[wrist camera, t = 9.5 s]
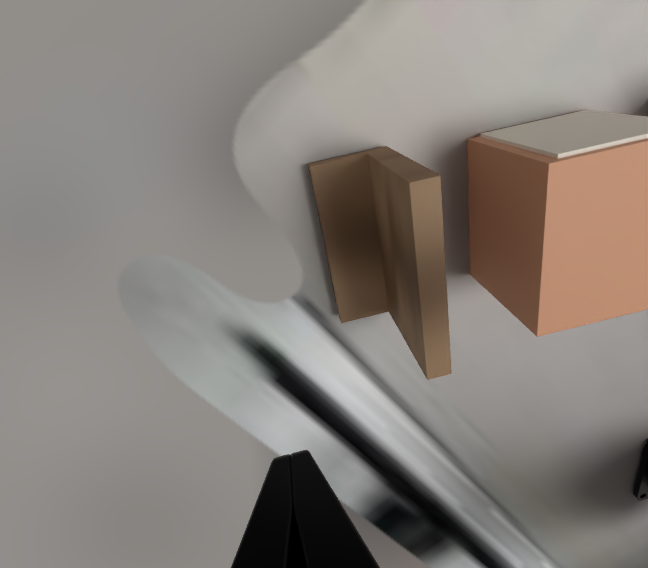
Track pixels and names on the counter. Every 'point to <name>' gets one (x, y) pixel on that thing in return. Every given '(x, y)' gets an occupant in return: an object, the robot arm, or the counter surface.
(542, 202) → the rust book
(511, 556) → the counter surface
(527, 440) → the counter surface
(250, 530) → the robot arm
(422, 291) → the bracket
